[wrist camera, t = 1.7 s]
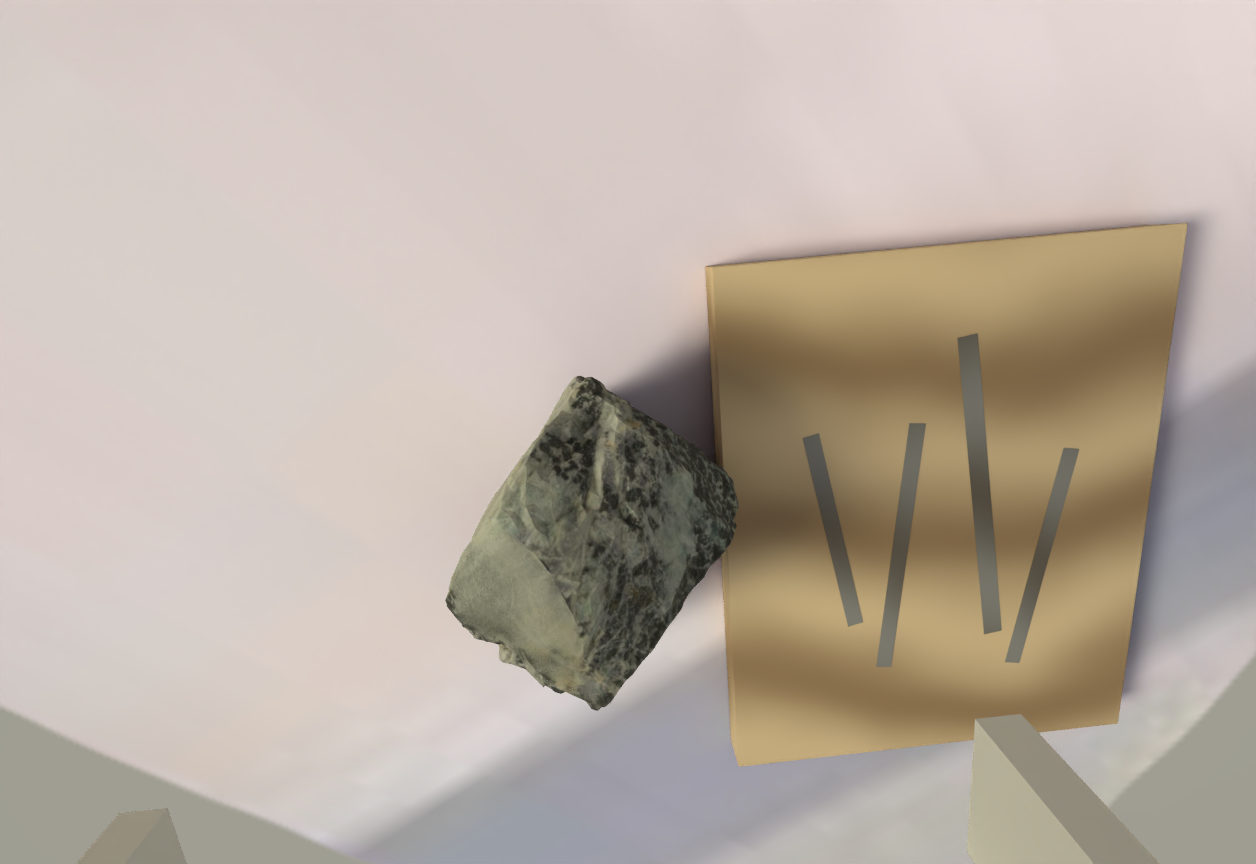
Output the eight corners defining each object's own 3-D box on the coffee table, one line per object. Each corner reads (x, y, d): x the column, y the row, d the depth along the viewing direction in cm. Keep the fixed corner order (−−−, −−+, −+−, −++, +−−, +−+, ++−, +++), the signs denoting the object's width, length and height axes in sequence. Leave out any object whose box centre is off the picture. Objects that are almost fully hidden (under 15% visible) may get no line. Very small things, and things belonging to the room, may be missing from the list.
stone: (696, 800, 16) (523, 457, 13) (467, 725, 23) (318, 484, 20) (824, 567, 23) (727, 303, 20) (617, 561, 30) (522, 362, 27)
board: (705, 266, 23) (713, 267, 21) (1150, 224, 23) (1188, 223, 22) (731, 740, 28) (739, 766, 27) (1091, 699, 29) (1118, 723, 27)
